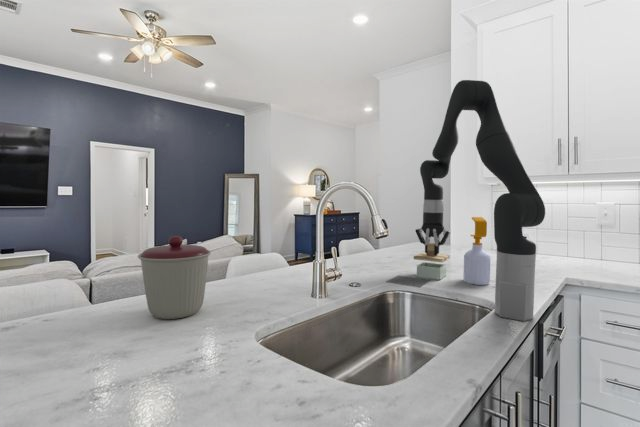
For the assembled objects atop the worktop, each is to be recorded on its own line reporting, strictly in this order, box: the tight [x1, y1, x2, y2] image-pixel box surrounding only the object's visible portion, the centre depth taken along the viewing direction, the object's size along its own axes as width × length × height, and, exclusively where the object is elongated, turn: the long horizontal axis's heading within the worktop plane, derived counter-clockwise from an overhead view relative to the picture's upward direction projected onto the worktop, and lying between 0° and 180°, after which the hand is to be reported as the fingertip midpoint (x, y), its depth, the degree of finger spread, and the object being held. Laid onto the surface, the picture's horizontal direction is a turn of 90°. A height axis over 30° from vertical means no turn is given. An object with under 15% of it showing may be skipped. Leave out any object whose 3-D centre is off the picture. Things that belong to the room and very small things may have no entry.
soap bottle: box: [462, 216, 491, 286], centre depth 129 cm, size 9×9×25 cm
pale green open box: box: [416, 261, 447, 281], centre depth 136 cm, size 9×9×5 cm
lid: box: [413, 242, 451, 263], centre depth 136 cm, size 11×11×6 cm
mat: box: [385, 275, 431, 288], centre depth 129 cm, size 13×13×1 cm
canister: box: [137, 235, 212, 320], centre depth 93 cm, size 18×18×21 cm
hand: (432, 254), depth 136 cm, fingers closed on lid, 2 cm apart
